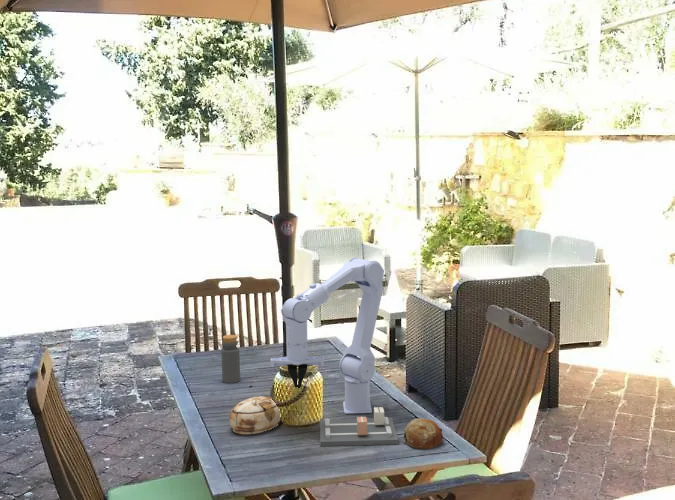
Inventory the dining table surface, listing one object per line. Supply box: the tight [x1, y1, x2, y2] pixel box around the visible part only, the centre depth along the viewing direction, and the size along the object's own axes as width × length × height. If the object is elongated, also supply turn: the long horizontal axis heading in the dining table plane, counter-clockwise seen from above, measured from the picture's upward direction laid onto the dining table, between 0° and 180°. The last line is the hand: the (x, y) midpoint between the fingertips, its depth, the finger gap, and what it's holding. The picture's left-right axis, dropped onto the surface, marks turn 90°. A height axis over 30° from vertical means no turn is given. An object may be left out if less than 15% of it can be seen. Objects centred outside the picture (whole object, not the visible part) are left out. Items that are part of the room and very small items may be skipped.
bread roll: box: [402, 418, 444, 450], centre depth 199 cm, size 10×10×8 cm
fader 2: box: [373, 406, 385, 425], centre depth 209 cm, size 4×2×4 cm, turn 2°
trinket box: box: [228, 395, 281, 435], centre depth 212 cm, size 13×15×8 cm
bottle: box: [220, 334, 241, 384], centre depth 253 cm, size 6×6×15 cm
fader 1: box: [356, 416, 367, 435], centre depth 201 cm, size 4×2×4 cm, turn 2°
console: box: [319, 416, 399, 447], centre depth 205 cm, size 16×20×2 cm
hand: (298, 391), depth 210 cm, fingers closed
